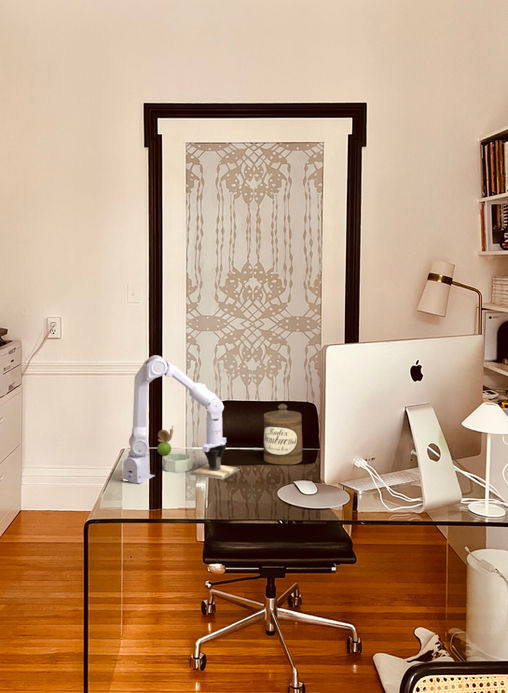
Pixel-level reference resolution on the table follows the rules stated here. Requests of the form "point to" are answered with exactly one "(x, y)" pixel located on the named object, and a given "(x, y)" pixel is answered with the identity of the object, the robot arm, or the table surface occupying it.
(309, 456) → the table surface
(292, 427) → the wooden container
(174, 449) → the table surface
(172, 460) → the bowl
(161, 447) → the snail figurine
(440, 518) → the table surface
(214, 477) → the mat
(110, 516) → the table surface
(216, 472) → the lid
